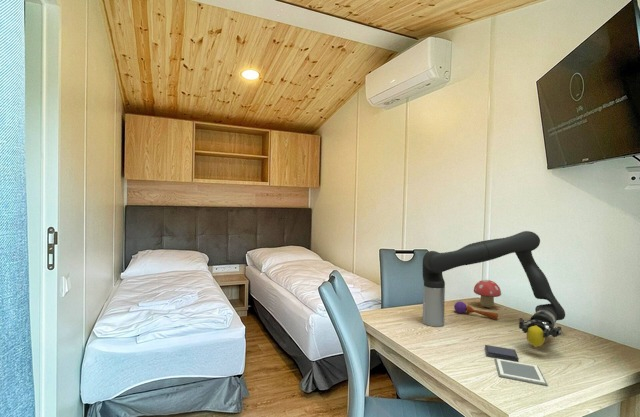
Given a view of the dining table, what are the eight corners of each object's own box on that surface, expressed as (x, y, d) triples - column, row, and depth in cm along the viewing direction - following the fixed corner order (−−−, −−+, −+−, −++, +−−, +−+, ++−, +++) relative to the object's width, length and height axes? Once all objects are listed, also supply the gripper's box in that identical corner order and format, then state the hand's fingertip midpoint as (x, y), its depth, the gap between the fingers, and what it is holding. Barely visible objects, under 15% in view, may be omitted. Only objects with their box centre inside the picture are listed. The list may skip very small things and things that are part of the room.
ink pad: (486, 356, 118) (486, 352, 118) (484, 347, 126) (484, 344, 126) (518, 362, 114) (518, 357, 114) (514, 352, 122) (514, 348, 122)
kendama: (497, 313, 155) (453, 302, 167) (496, 325, 157) (452, 313, 168) (499, 308, 160) (456, 298, 172) (498, 319, 161) (455, 308, 173)
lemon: (522, 344, 123) (523, 322, 122) (536, 343, 123) (537, 322, 123) (533, 350, 117) (534, 328, 117) (548, 350, 117) (548, 328, 117)
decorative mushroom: (471, 302, 186) (471, 276, 186) (497, 305, 183) (497, 278, 183) (475, 310, 173) (476, 281, 173) (504, 312, 170) (504, 283, 170)
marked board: (499, 376, 104) (499, 374, 104) (494, 359, 116) (494, 357, 116) (547, 386, 99) (547, 383, 99) (538, 367, 111) (538, 365, 111)
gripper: (522, 307, 135) (512, 317, 123) (565, 316, 125) (559, 327, 113) (521, 325, 135) (511, 337, 123) (564, 336, 126) (558, 349, 113)
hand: (534, 332), depth 118 cm, fingers closed on lemon, 5 cm apart
